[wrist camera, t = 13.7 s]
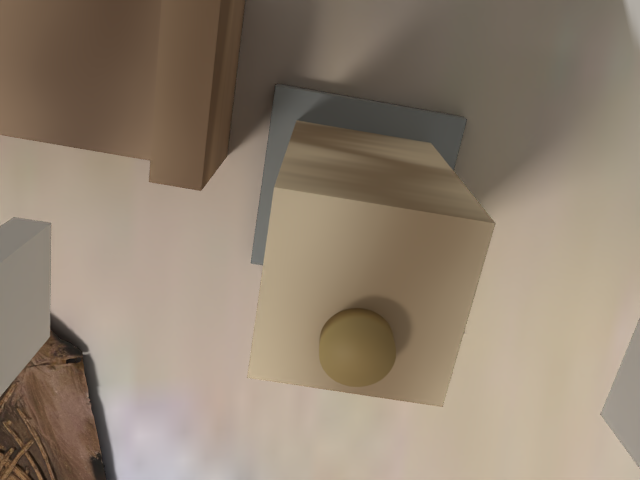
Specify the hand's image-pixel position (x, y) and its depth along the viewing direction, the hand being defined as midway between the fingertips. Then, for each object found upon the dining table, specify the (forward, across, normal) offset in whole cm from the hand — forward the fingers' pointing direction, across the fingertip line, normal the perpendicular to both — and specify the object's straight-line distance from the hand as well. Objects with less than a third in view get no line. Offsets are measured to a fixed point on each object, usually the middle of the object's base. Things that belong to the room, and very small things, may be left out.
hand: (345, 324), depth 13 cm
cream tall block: (+10, +1, 0) cm, 10 cm away
